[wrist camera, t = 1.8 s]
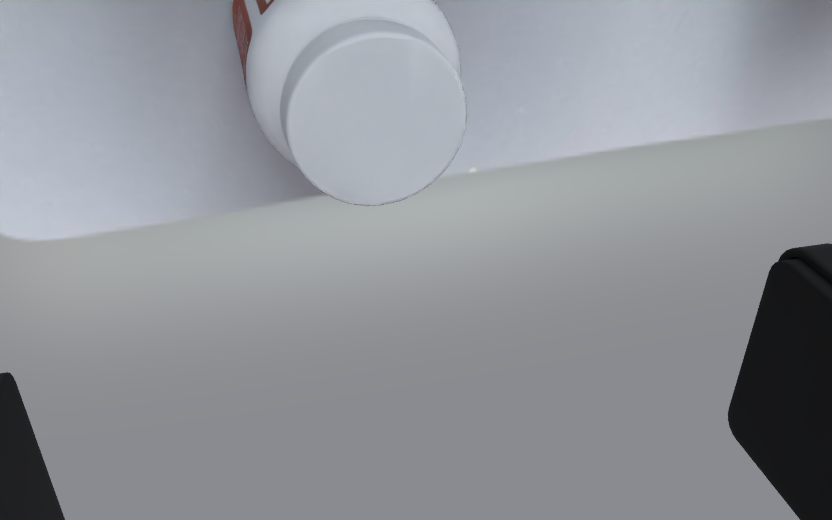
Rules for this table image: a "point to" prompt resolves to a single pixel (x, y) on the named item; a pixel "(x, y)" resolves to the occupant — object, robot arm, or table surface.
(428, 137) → the pill bottle
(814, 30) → the table surface
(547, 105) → the table surface
